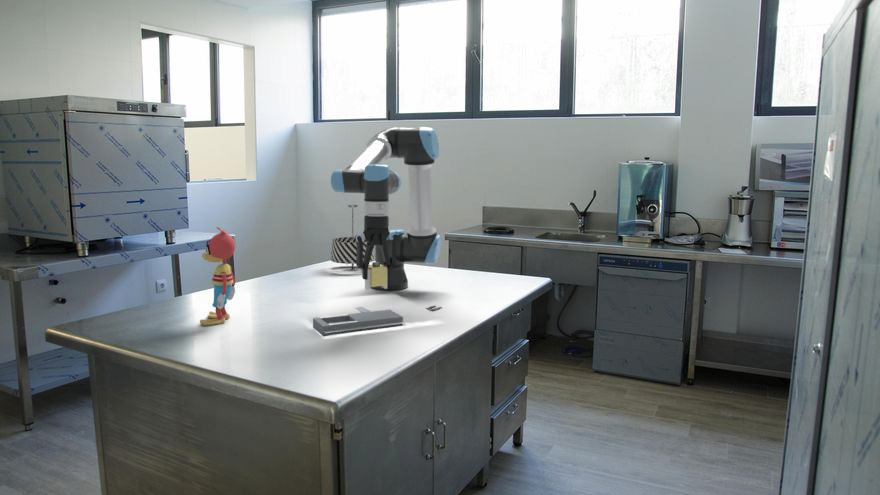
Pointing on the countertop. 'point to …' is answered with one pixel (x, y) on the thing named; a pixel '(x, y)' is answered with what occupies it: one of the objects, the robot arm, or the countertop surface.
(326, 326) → the rail board
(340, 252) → the pendant light
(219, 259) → the toy
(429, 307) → the pliers
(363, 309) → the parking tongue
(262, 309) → the countertop surface
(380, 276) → the block
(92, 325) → the countertop surface
